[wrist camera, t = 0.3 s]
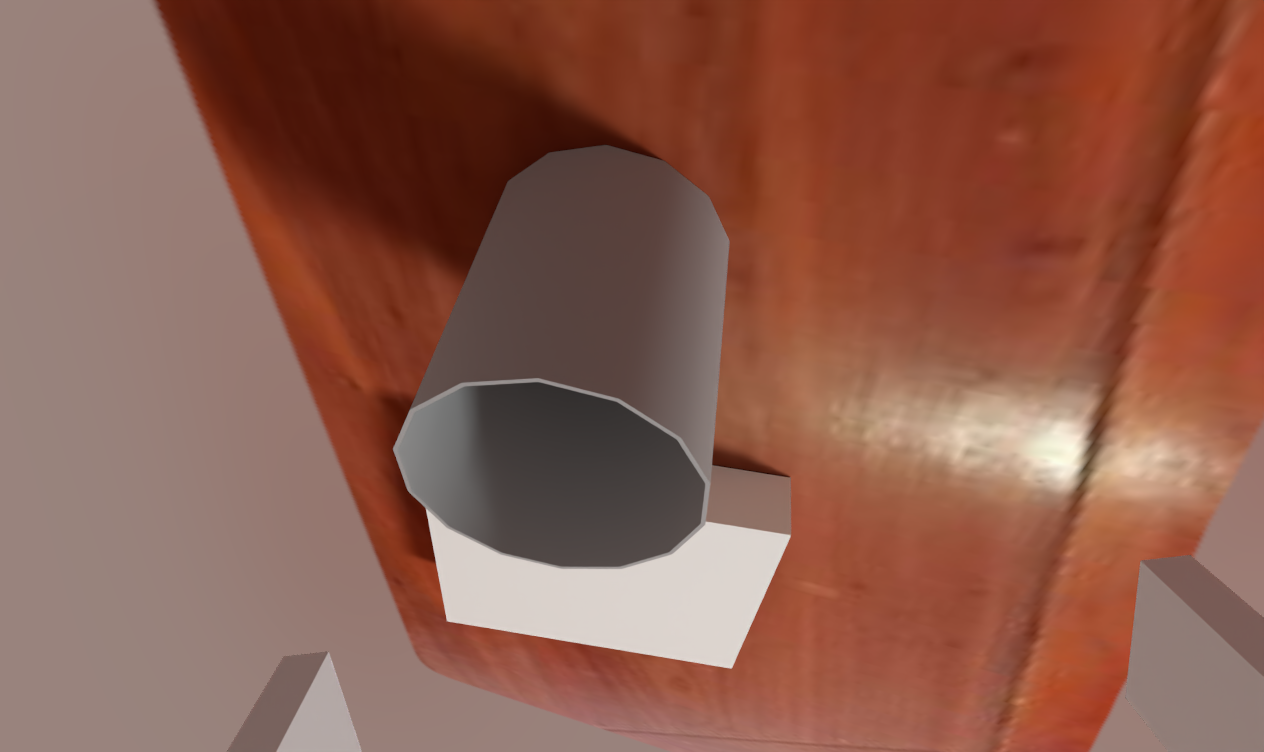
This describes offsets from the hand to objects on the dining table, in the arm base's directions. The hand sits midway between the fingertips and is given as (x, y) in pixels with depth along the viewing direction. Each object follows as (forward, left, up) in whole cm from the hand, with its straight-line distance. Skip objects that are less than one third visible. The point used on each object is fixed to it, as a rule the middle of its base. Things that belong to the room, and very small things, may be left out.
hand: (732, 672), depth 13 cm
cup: (+5, -4, -16) cm, 18 cm away
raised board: (+23, -3, -16) cm, 28 cm away
